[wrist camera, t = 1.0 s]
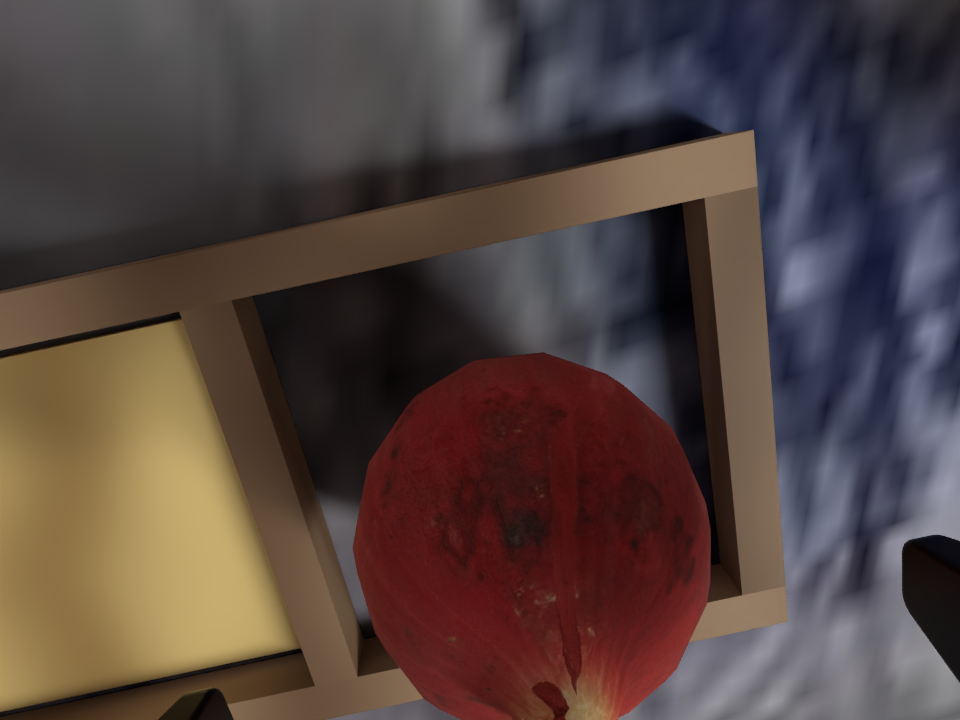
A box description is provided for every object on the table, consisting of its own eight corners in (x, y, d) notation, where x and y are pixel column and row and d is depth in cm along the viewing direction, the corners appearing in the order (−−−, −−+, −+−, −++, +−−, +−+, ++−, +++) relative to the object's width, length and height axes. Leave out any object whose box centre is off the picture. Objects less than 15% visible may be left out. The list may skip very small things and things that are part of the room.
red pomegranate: (355, 332, 13) (242, 556, 6) (625, 295, 13) (862, 468, 6) (401, 565, 15) (360, 975, 8) (639, 531, 15) (837, 900, 8)
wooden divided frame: (725, 132, 13) (753, 129, 11) (763, 588, 16) (787, 621, 15) (-300, 356, 13) (-372, 375, 12) (-50, 761, 16) (-88, 807, 15)
